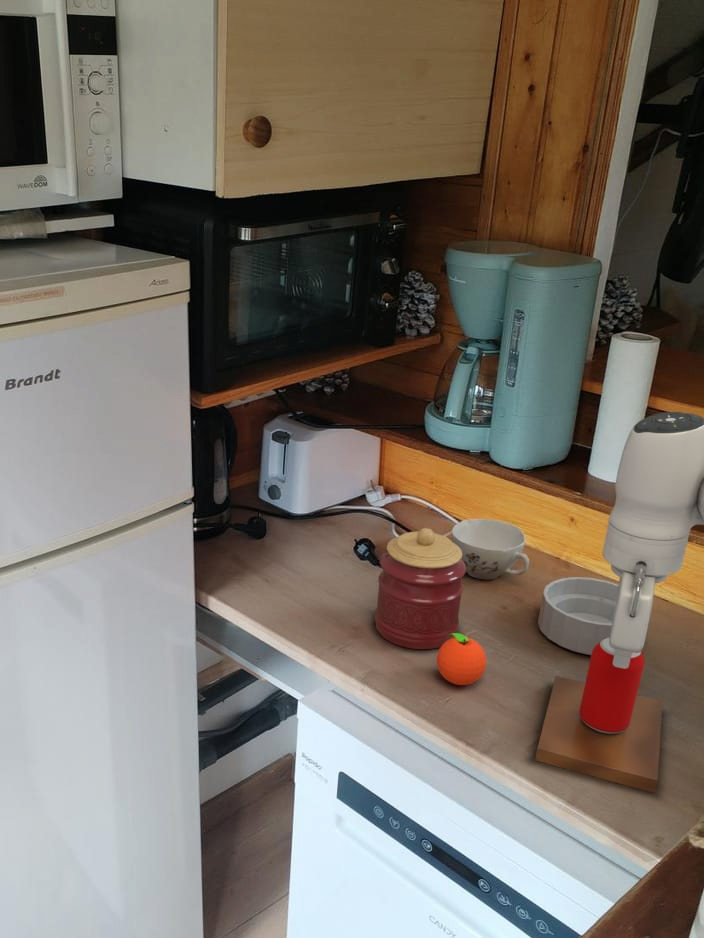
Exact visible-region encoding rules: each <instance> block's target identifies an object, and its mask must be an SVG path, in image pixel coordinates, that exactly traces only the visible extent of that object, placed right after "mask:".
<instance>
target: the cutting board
mask: <svg viewBox="0 0 704 938" xmlns="http://www.w3.org/2000/svg"><path fill="white" fill-rule="evenodd" d="M584 687H585V681H580V680H576V679H571V678H566V677H564V676H563V677H562V676H559V675H555V676H554V681H553V684H552V689H551V693H550V697H549V701H548V704H547V709H546V713H545V717H544V721H543V724H542V729H541V732H540V736H539V740H538V745H537V748H536V754H535V759H534V761H536V762H539V763H542V764H547V765H550V766H554V767H558V768H561V769H565V770H568V771H572V772H575V773H579V774H583V775H586V776H591V777H594V778H597V779H601V780H605V781H609V782H612V783H615V784H619V785H623V786H626V787H630V788H634V789H637V790H641V791H645V792H649V793H653V794H655V792H656V787H657V784H658V780H659V766H660V764H659V763H660V748H661V734H662V733H661V730H662V717H663V716H662V715H663V700H659V699H655V698H651V697H647V696H644V695H638V694H637V696H636V700H635V704H634V708H633V712H632V716H631V720H630V724H629V726H628V728H627V729H626V730H625V731H623V732H620V733H602V732H599V731H597V730H595V729H593V728H591V727H589V726H588V725H587V724H586V723H585V722H584V721H583V720H582V718H581V716H580V713H579V710H580V705H581V701H582V696H583V692H584Z"/></svg>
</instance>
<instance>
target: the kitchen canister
mask: <svg viewBox="0 0 704 938" xmlns="http://www.w3.org/2000/svg"><path fill="white" fill-rule="evenodd" d="M461 558H462V551H461V549H460V548H459V547H458V546H457V545H456V544H455V543H453V541H452V540H450V539H449V538H448V537H447V536H444V535H442V534H439V533H435V532H434V531H433V530H432V528H429V527H423V528H421V529H420V530H417V531H409V532H405V533H403V534H401V535H399V536H396V537H394V538H392V539H390V541H389V542H387V545H386V550H385V551H384V553H382V554H381V556H380V558H379V564H380V566H381V568H382V571H381V572H380V574H378V575H379V576H378V580H377V581H378V592H377V601H376V608H375V612H374V621H375V627H376V631H377V632H378V633H379V635H381V637H382V638H384V639H385V640H386V641H388V642H390V643H392V644H395V645H397V646H400V647H404V648H406V649H407V648H408V649H414V650H431V649H432V650H433V649H438V648H441V646H442V645H443V644H444V643H445V642H446V641H448V640H449V639H451V638H455V637H454V636H453V635H452V634H451V633H458V629H459V622H460V620H459V613H460V608H461V599H462V594H463V592H464V584H463V581H462V578H463V577H464V576H465V574H466V573H467V572H466V566H465V563H464V562H463V560H462V559H461ZM449 634H451V635H450V636H449V637H448V635H449ZM447 637H448V639H447Z"/></svg>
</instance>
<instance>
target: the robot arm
mask: <svg viewBox="0 0 704 938" xmlns="http://www.w3.org/2000/svg"><path fill="white" fill-rule="evenodd" d="M614 489H615V503H614V506H613V507H612V509H611V510H610V513H609V515H608V521H607V525H606V530H605V536H604V541H603V547H602V552H601V553H602V557H603V559H604V560H605V561H606V562H607V563H608V564H610V570H611V572H612V573H613V574H615V575H616V576H617V577H619V579H618V591H617V597H616V603H615V609H614V615H613V621H612V627H611V633H610V639H609V643H610V646H611V647H612V648H615V654H614V659H613V665H614V666H615V667H619V668H624V669H626V668H628V667H629V663H630V658H631V656H632V653H633V652H634V653H640V652H643V649H644V646H645V642H646V638H647V634H648V629H649V624H650V619H651V615H652V609H653V604H654V597H655V588H656V584H660V583H662V582H664V581H666V580H667V579H668V576H669V575H673V574H675V573H678V572H680V570H681V569H682V567H683V562H684V559H685V555H686V551H687V546H688V542H689V537H690V533H691V529H692V528H693V527H694V526H697V525H701V526H704V417H703V416H701V415H699V414H695V413H692V412H691V413H690V412H683V411H666V412H659V413H655V414H651V415H649V416H647V417H644V418H642V419H641V420H639V421H638V422H637V423H635V425H633V427H632V428H631V430H630V432H629V433H628V436H627V438H626V441H625V444H624V447H623V450H622V454H621V457H620V460H619V463H618V469H617V474H616V480H615V484H614Z"/></svg>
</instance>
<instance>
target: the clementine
mask: <svg viewBox="0 0 704 938" xmlns="http://www.w3.org/2000/svg"><path fill="white" fill-rule="evenodd" d="M451 634H452V635H453V636H454V638H451V639H449V640H448V641H446V642H445V643H444V644H443V645H442V646H441V647H439V649H438V652H437V656H436V665H437V669H438V671H439V673H440V675H441V676H442V677H443V678H444V680H446V681H448V682H450V683H451V684H453V685H456V686H468V685H472V684H473V683H475V682H477V681H478V680H479V679H481V677H482V675H483V674H484V673H485V670H486V667H487V656H486V653H485V650H484V649H483V647H482V646H481V645H480V644H479V643H478V641H476V640H475V639H472V638H470V637H468V636H465V635H463V634H462V633H460V632H456V633H451ZM451 634H449V635H448V637H449V636H450V635H451ZM448 637H447V639H448Z"/></svg>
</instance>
